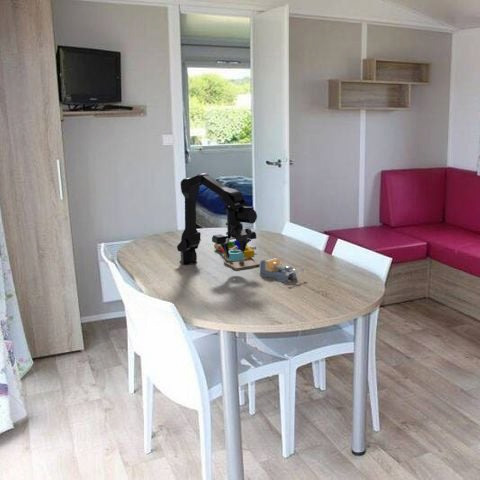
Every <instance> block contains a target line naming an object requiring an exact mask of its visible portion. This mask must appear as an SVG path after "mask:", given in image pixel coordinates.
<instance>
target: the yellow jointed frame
mask: <svg viewBox="0 0 480 480" xmlns="http://www.w3.org/2000/svg"><path fill="white" fill-rule="evenodd" d="M227 241H228V243H229V246H228V248H229V250H240V242H238V241H236V239H234V240H227ZM213 247H214V249H215V251H220V252H222V253H223V257H224V258H225V259H226V260H227V256H226V254H225V252H224V250H223V248H222V246H221V244H216V243H214V245H213ZM255 250H257V246H248V244H247V245H246V247H245V250H244V253H243V254H244V259H245V258H248V259H250V258H255Z"/></svg>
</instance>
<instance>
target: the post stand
mask: <svg viewBox="0 0 480 480" xmlns="http://www.w3.org/2000/svg"><path fill="white" fill-rule="evenodd" d="M223 265H224V266H227V267H229V268H231V269H233V270H234V271H240V270H246V269H247V270H248V269H251V268H253V269H254V268H258V267H259V268H260V263H258V262H257V261H254V260H252V259H250V258H244V254H243V259H242V260H240V261H229V260H227V261H223Z"/></svg>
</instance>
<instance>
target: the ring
mask: <svg viewBox="0 0 480 480" xmlns="http://www.w3.org/2000/svg"><path fill="white" fill-rule="evenodd" d="M242 259H243V251H241V250H230V249H229V258H227V259H226V260H227V261H240V260H242Z"/></svg>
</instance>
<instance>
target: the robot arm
mask: <svg viewBox="0 0 480 480" xmlns="http://www.w3.org/2000/svg"><path fill="white" fill-rule="evenodd" d="M201 186H204V187H205V188H207V189H208V190H210V191H212V193H215V194H216V195H217V196H219V197H220V199H221V201H222V202H223V203H224V204H225V205H224V207H223V208H222V210H223V211H226V222H225V225H226V227H227V231H226V232H225V234H226V235H223V234H214V235H212V237H211V242H212V243H214V244H215V243H216V244H221V246H222V248H223V250H224V252H225V254H226V256H227V258H229V250H230V248H228V246H229V243H228V241H227V240H229V241H233V240H236V241H238V242H240V250H241V251H243V253H244V250H245V247H246V245H247V246H248V244H249V243H250V242H251V241H252V240H256V239H257V233H256V231H253V230H252V229H251V228H250V227H246V228H243V223H245V224H254V223H256V221H257V219H258V214H257V212H256V210H255V209H254V206H248V203H247V202H246V200H245V198H244V197H243V194H242V193H243V192H241V191H240V190H237V189H236V188H230V187H227V186H225V185H224V184H223V183H221V182H220V181H218V180H216V179H215V178H213V177H212V176H210V175H209V174H208V173H206V172H205V173H199V174H197V175H195V176H193V177H187V178H183V179H182V180H181V181H180V192H181V194H182V196H183V197H184V229H183V231H182V233H181V239H180V242H179V243H178V244H177V246H176V249H177V251H178V252H180V260H179V263H181V264H182V265H184V266H185V265H187V266H189V265H192V264H197V263H198V261H197V259H198V258H197V256H198V255H197V252H196V250H197V249H199V245H200V243H201V241H202V240H201V235H202V234H201V232H200V231H198V230H197V197H198V194H199V192H200V187H201Z"/></svg>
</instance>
